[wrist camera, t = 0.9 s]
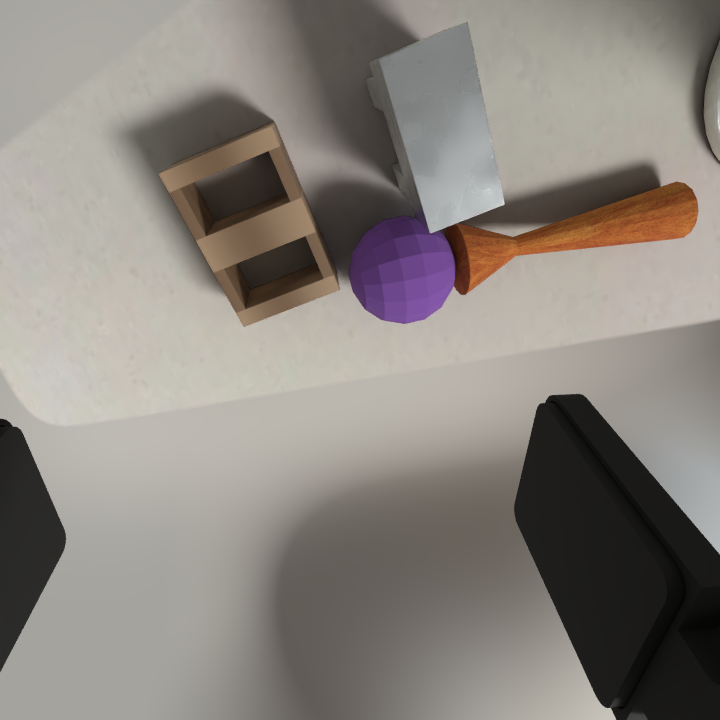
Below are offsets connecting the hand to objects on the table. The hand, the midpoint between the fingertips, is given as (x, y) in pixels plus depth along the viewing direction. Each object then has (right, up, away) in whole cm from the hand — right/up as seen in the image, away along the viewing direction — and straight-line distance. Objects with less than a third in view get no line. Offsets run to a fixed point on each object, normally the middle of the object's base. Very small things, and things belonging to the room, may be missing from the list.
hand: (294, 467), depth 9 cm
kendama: (+10, +10, +21) cm, 26 cm away
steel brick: (+4, +15, +17) cm, 23 cm away
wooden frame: (-5, +10, +19) cm, 22 cm away
